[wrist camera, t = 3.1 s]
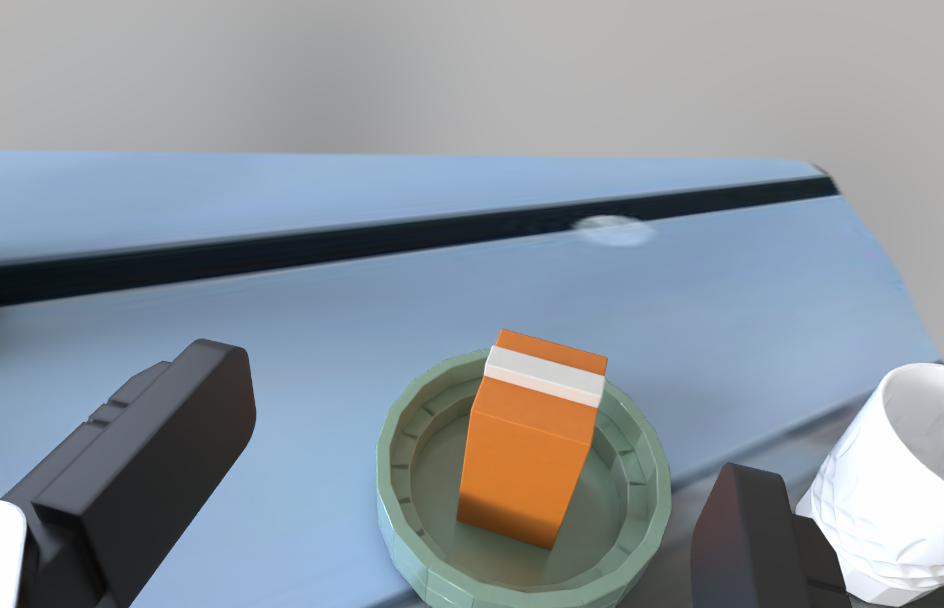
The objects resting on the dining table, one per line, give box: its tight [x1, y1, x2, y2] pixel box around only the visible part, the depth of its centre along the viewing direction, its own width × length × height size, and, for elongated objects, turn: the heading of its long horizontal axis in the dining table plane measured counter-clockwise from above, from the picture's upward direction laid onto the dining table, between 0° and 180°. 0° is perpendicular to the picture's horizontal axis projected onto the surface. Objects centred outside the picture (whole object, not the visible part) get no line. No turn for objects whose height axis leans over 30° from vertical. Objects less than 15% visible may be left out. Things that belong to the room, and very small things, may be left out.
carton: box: [456, 329, 608, 550], centre depth 30 cm, size 5×5×10 cm
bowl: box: [376, 349, 672, 608], centre depth 32 cm, size 14×14×4 cm
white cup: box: [796, 363, 944, 607], centre depth 30 cm, size 8×8×10 cm
